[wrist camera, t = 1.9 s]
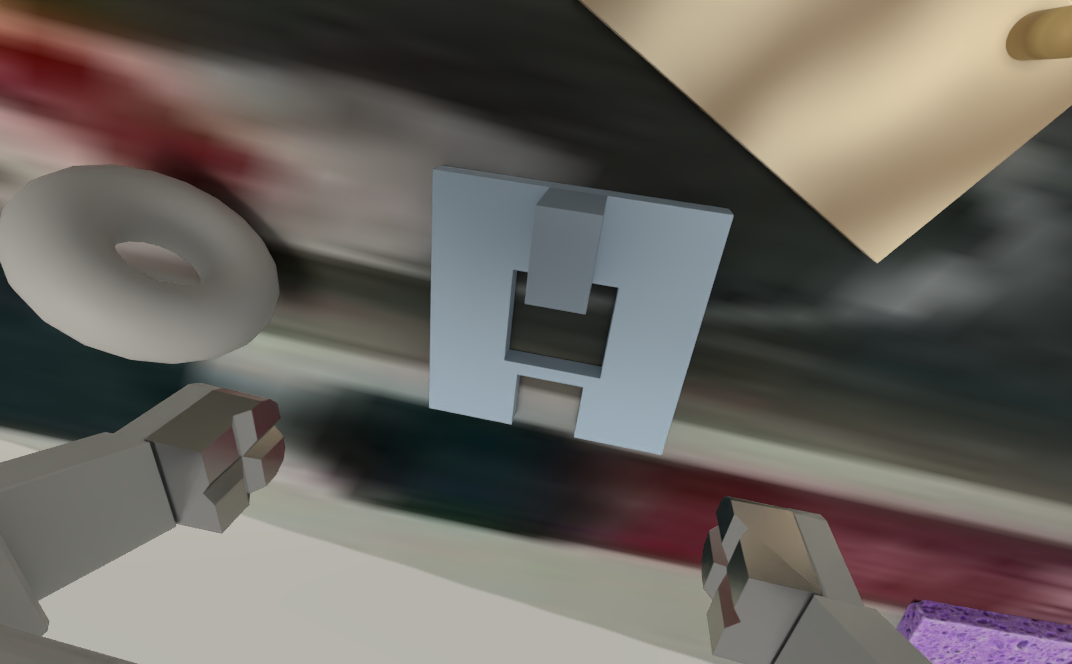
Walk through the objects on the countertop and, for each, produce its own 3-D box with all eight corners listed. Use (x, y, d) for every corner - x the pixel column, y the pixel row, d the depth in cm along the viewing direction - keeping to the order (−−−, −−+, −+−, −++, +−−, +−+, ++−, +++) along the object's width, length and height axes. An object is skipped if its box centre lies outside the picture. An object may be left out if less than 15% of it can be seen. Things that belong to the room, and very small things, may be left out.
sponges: (1083, 698, 31) (1108, 732, 30) (869, 658, 33) (881, 688, 32) (1149, 629, 28) (1181, 663, 27) (908, 589, 30) (924, 619, 28)
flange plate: (442, 165, 23) (399, 183, 19) (728, 208, 22) (751, 238, 17) (436, 395, 29) (403, 448, 25) (660, 440, 28) (665, 503, 23)
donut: (146, 183, 26) (-101, 235, 17) (172, 135, 25) (-85, 165, 16) (297, 316, 28) (145, 423, 19) (329, 279, 27) (180, 376, 18)
